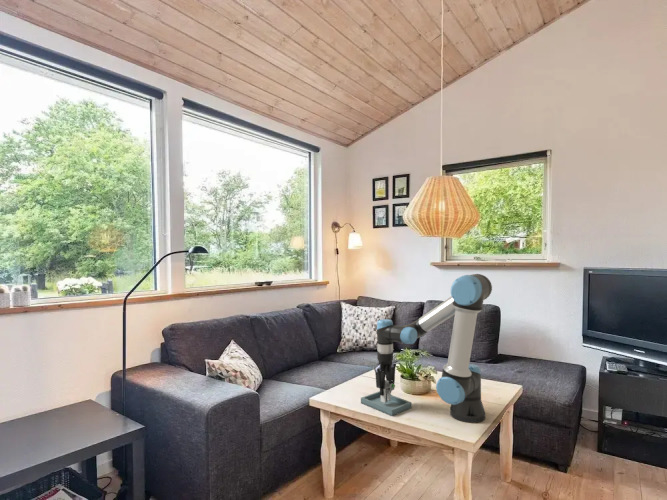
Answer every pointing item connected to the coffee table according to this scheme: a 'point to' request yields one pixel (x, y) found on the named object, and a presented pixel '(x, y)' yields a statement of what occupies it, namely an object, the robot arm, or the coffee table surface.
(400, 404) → the parts tray
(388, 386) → the mechanical component
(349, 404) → the coffee table surface
